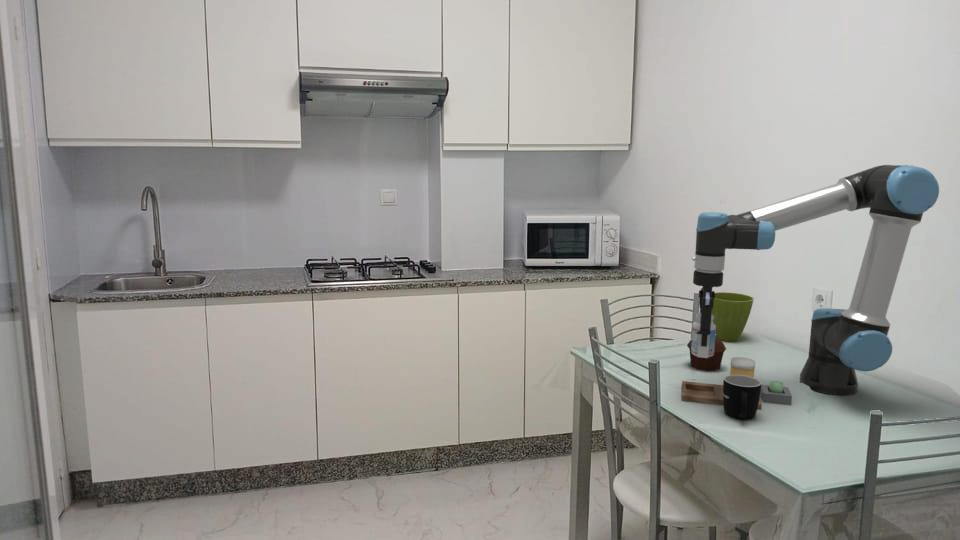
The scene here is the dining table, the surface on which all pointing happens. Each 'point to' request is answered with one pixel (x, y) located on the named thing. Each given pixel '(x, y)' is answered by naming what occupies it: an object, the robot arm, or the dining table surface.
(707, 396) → the pallet board
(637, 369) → the dining table surface
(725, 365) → the dining table surface
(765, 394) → the button housing
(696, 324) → the pill bottle
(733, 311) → the flower pot
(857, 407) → the dining table surface
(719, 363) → the muffin
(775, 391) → the button plunger
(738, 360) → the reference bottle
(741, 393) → the mug
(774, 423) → the dining table surface
